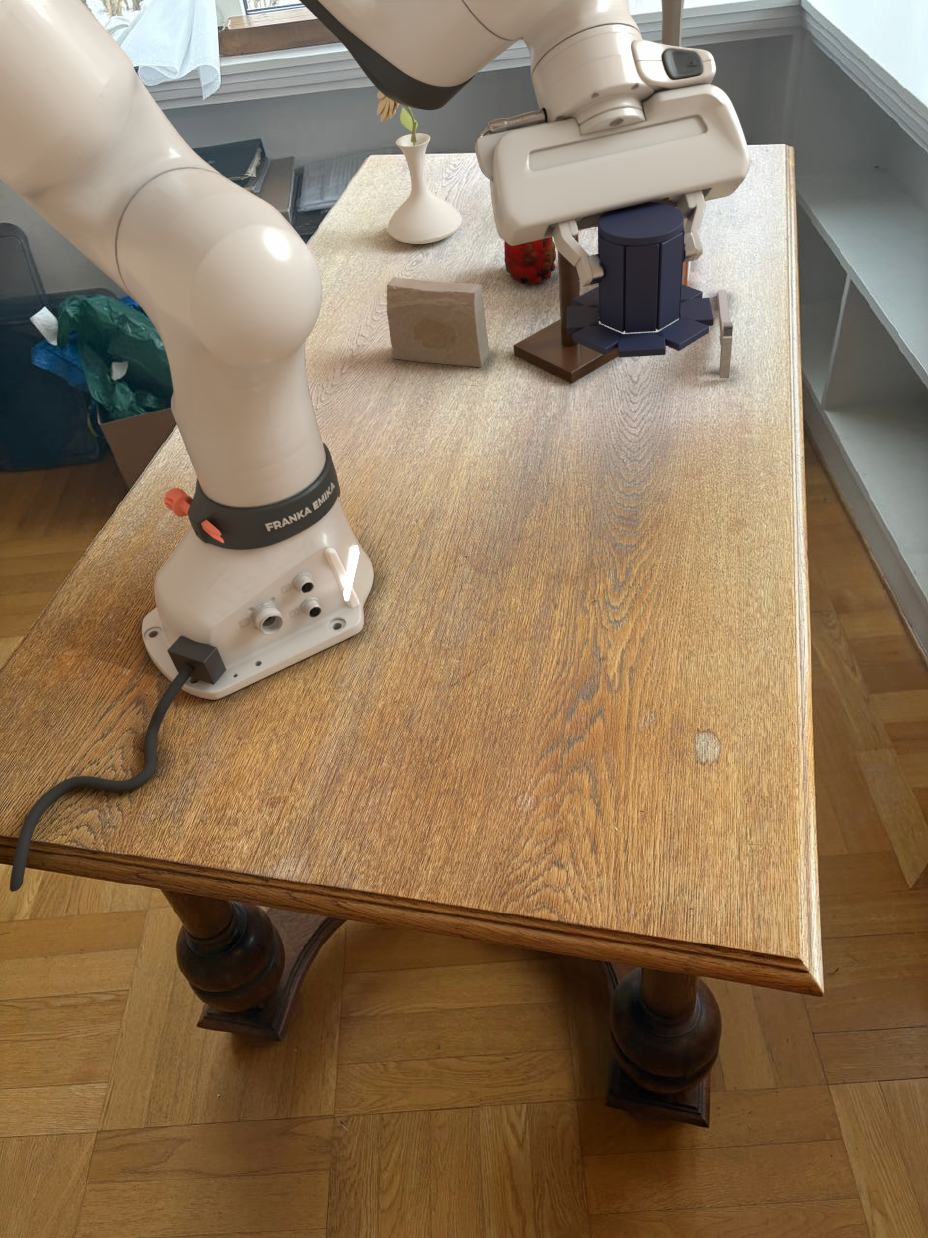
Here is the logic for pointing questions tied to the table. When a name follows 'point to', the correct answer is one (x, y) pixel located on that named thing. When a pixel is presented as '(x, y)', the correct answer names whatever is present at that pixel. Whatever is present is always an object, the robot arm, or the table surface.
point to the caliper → (724, 334)
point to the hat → (640, 287)
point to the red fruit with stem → (530, 260)
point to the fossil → (437, 322)
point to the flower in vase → (417, 188)
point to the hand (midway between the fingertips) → (643, 270)
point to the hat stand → (562, 337)
